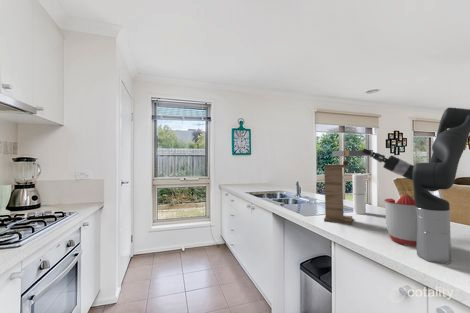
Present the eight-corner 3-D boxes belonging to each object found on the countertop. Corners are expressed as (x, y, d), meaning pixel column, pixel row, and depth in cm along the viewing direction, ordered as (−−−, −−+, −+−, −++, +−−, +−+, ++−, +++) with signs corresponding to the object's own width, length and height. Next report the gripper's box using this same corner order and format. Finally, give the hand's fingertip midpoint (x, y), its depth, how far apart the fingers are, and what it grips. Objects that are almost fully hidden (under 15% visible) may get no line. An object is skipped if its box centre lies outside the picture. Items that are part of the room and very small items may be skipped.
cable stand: (351, 224, 123) (350, 161, 123) (324, 221, 129) (322, 161, 130) (352, 218, 134) (350, 161, 135) (326, 216, 141) (325, 161, 141)
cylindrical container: (353, 213, 147) (352, 174, 148) (353, 211, 153) (352, 174, 154) (366, 214, 144) (365, 175, 144) (365, 212, 150) (364, 174, 151)
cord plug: (332, 156, 131) (332, 150, 131) (333, 156, 136) (333, 151, 136) (373, 155, 122) (372, 149, 122) (372, 155, 126) (372, 149, 126)
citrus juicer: (418, 236, 102) (417, 191, 103) (441, 250, 86) (439, 197, 86) (379, 233, 107) (378, 190, 107) (393, 246, 90) (391, 196, 91)
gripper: (398, 159, 124) (366, 144, 132) (403, 159, 112) (367, 143, 119) (390, 171, 126) (359, 156, 133) (394, 172, 114) (359, 155, 121)
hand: (363, 150), depth 126 cm, fingers closed on cord plug, 3 cm apart
